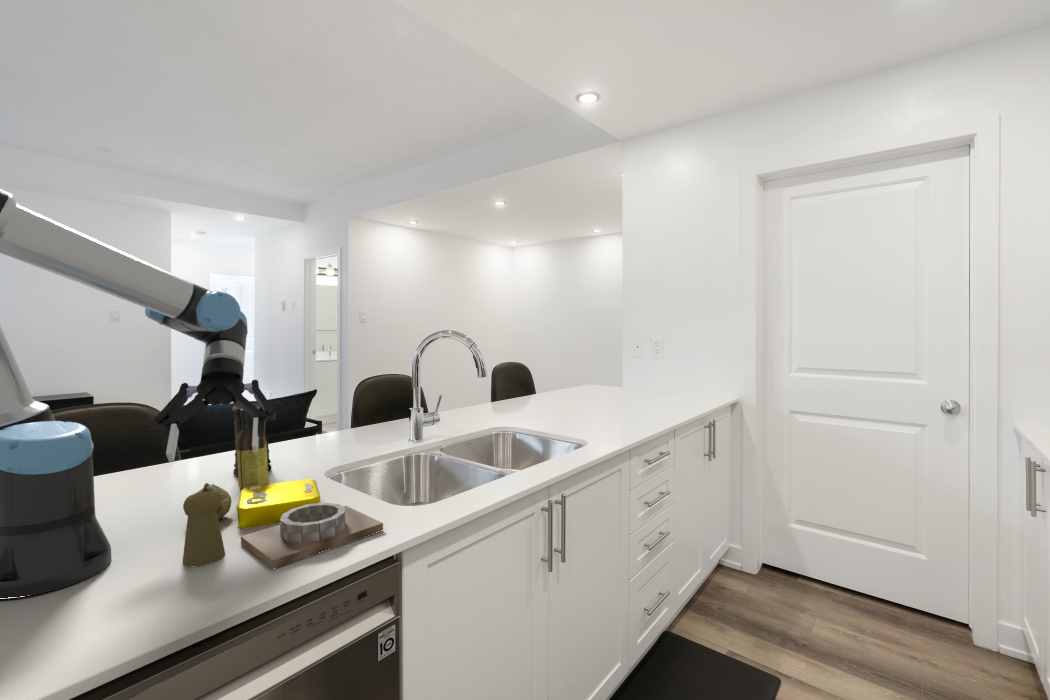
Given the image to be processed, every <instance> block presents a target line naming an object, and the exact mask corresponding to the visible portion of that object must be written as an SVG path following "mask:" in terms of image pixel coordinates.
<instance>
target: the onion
mask: <svg viewBox="0 0 1050 700" xmlns="http://www.w3.org/2000/svg"><path fill="white" fill-rule="evenodd" d="M200 492H215V493H217V494H218V495H219V497H220V507H219V508H218V510H217V515H218V520H219V521H220V520H221V519H222V518H223V517H224V516H226V515H227V514H228V512H230V509H231V506H232V498H231V495H230V494H229V492H228V491H227V490H225V489H224V488H222V487H220V486H218V485H215V484H214V483H212V484H209V483H208V482H207V483H206V482H205V483H204V485H203V487H202V488H201V489H200V490H198V491H197V492H195V493H194V494H196V493H200Z"/></svg>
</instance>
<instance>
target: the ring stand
mask: <svg viewBox="0 0 1050 700" xmlns="http://www.w3.org/2000/svg"><path fill="white" fill-rule="evenodd" d="M381 530H383V531H384V522H382V521H379V520H377V519H375V518H373V517H371V516H369V515H367V514H364V513H362V512H361V511H358V510H356V509H354V508H352V507H350V506H348V505H342V504H341V503H340V504H339V503H334V502H320V503H316V504H309V505H308V504H307V505H304V506H300V507H296V508H293V509H291V510H289V511H287V512H285V513H284V514H282V516H281V519H280V523H279V524H278V525H274V526H271V527H268V528H267V527H266V528H264V529H261V530H257V531H254V532H250V533H248V534H247V533H246V534H244V535H241V536H240V545H241V546H243V548H245V549H246V550H247V551H248V552H249V553H251V552H252V553H253V555H254V556H255V557H256V556H257V557H258V558H257V557H256V558H257V559H259V560H260V561H261V560H262V561H263V562H262V561H261V562H262V563H264V564H265V565H266V564H267V565H268V567H269V568H270V569H271V568H272V569H274V568H276V569H279V568H281V567H280V566H282V567H285V566H287V565H286V564H288V565H290V564H289V563H291V564H293V563H295V562H294V561H296V562H298V561H297V560H299V561H301V560H300V559H302V560H304V559H303V558H305V557H308V556H310V557H312V555H313V556H316V555H318V554H317V553H319V552H322V551H325V550H327V551H329V550H328V549H330V550H332V549H331V548H333V549H335V548H334V547H336V548H338V547H337V546H339V547H341V546H340V545H342V546H343V544H344V545H347V544H349V543H348V542H350V543H353V542H355V541H354V540H356V541H359V540H361V539H363V537H364V538H366V537H365V536H367V537H369V536H368V535H370V536H372V535H371V534H373V533H375V534H377V533H376V532H378V531H381ZM381 532H382V531H381ZM378 533H379V532H378ZM373 535H374V534H373ZM360 538H361V539H360ZM352 541H353V542H352ZM346 543H347V544H346ZM325 552H326V551H325ZM252 553H251V554H252ZM322 553H323V552H322ZM315 554H316V555H315ZM319 554H320V553H319ZM308 558H309V557H308ZM305 559H306V558H305ZM292 562H293V563H292ZM267 565H266V566H267ZM284 565H285V566H284ZM278 567H279V568H278ZM272 569H271V570H272ZM274 570H275V569H274Z"/></svg>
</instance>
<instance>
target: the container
mask: <svg viewBox="0 0 1050 700" xmlns="http://www.w3.org/2000/svg"><path fill="white" fill-rule="evenodd" d="M252 404H253V405H255V406H256V407H257V408H260V410H261V411H262V412H263V410H262V408H261V407H260V405H259V404H258V403H252ZM241 409H242V408H240V407H238V406H237V405H234V406H233V407H232V412H234V413H233V415H234V422H233V423H234V439H235V440H234V442H235V444H234V445H235V448H234V449H235V452H234V459H235V460H234V464H233V467H234V469H233V471H232V472H233V475H234V476H235V475H236V476H235V477H238V464H237V437H238V435H239V433H240V432H241V430H242V427H241V426H242V420H241V416H240V410H241ZM264 413H265V412H264ZM268 422H269V421H267V422H266V424H265V436H266V440H267V455H268V472H269V471H270V470H272V465H271V462H272V461H271V459H270V450H269V428H268V427H269V425H268ZM270 472H271V471H270ZM270 472H269V473H270Z"/></svg>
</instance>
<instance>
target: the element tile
mask: <svg viewBox="0 0 1050 700" xmlns="http://www.w3.org/2000/svg"><path fill="white" fill-rule="evenodd" d="M239 491H240V490H239ZM316 503H321V494H320V491H319V487H318V483H317V480H315V479H313V478H306V479H304V478H303V479H295V480H291V481H284V482H283V481H282V482H276V483H275V482H274V483H268V484H266V485H259V486H251V487H245V488H244V489H242V490H241V491H240V492H239V495H238V503H237V507H236V508H237V509H236V510H237V526H238V528H239V529H242V530H243V529H253V528H260V527H264V526H270V525H276V524H280V519H281V516H282V514H284V513H285V512H287V511H289V510H291V509H293V508H296V507H300V506H304V505H307V504H308V505H309V504H316Z"/></svg>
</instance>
